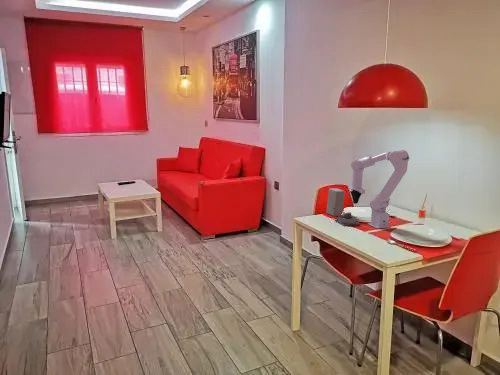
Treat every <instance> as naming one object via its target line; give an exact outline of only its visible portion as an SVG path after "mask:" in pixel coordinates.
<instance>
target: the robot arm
mask: <svg viewBox="0 0 500 375" xmlns="http://www.w3.org/2000/svg"><path fill="white" fill-rule="evenodd" d="M385 160H387V161H389V162H390V164H391V165H392V167H393V168H394V171H393V173H392V174H391V176H390V177H389V178H388V180H387V182H386V183H385V185H384V186H383V188H382V189H381V191H380V192H379V193H378V194H377V195H376V196H375V197H374V198H372V199H371V200H370V202H369V207H370V209H371V214H370V215H371V217H370V218H371V219H370V222H368V223H367V225H369V226H371V227H373V228H375V229H389V228H390V226H389V224H390V222H389V220H390V215H389V213H387V212H386V211H387V208H388V207H389V203H390V200H391V198H390V197H391V196H392V194H393V192H394V191H395V189H396V188H397V187H398V185H399V184H400V182H401V180H403V178H404V176H405V174H406V173H407V171H408V164H409V161H410V155H409V153H408V151H406V150H405V149H401V150H391V151H385V152H384V153H380V154H377V155H375V156H373V155H370V154H367V155H365V157H359V158H358V159H353V160H352V161H351V162H350V167H351V169H352V173H351V185H348V187H347V188H348V189H347V190H350V191H349V192H350V195H351V198H352V202H353V203H352V204H355V205H357V204H358V203H359V200H360V198H361V196H362V195H363V194H366V190H365V189H364V188H362V186H363V172H364V169H365V168H369V167H372V166H375V164H376V163H378V162H382V161H385Z"/></svg>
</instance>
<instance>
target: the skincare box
mask: <svg viewBox="0 0 500 375" xmlns="http://www.w3.org/2000/svg"><path fill="white" fill-rule="evenodd" d="M345 194H346V191H345V190H342V189H340V188H336V187H335V188H334V187H333V188H332V187H331V188H329V189H328V195H327V196H328V197H327V203H326V214H328V215H329V216H333V217H338V215H341V214H342V215H343V212H344V211H343V210H344V202H345V196H346V195H345Z"/></svg>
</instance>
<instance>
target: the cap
mask: <svg viewBox="0 0 500 375" xmlns="http://www.w3.org/2000/svg"><path fill="white" fill-rule="evenodd" d="M342 215H343V218H351V215H352V212H350V211H343V212H342Z"/></svg>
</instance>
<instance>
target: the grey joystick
mask: <svg viewBox="0 0 500 375" xmlns="http://www.w3.org/2000/svg"><path fill="white" fill-rule="evenodd" d="M357 219H358V218H357V216H354V215H352V214H351V218H343V214H342V215H339V216H337V218H336V219H334V222H335V221H336V222H335V223H337V222H338V223H337V224H339V225H341V226H343V227H347V226H349V227H350V226H359V225H361V224H360V223H361V222H358V221H357Z"/></svg>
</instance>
